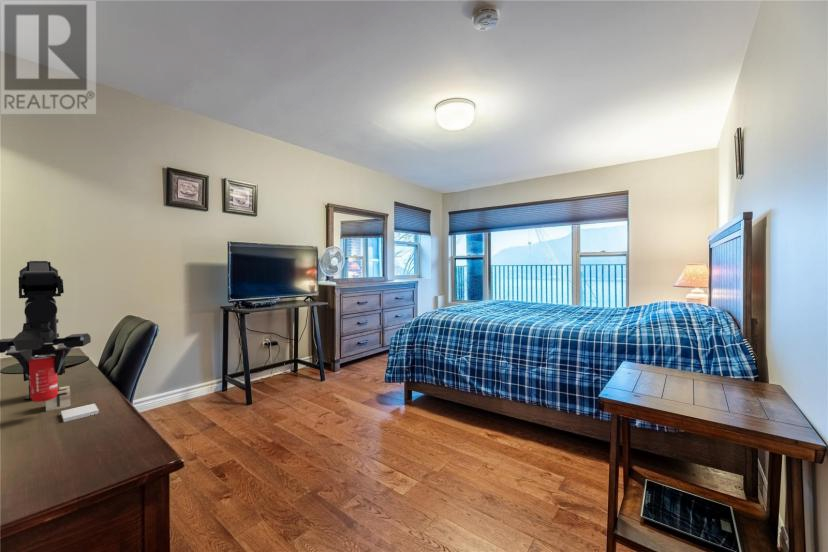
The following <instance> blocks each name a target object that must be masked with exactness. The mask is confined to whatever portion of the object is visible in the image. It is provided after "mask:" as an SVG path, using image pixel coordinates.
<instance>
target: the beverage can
mask: <svg viewBox="0 0 828 552" xmlns="http://www.w3.org/2000/svg"><path fill="white" fill-rule="evenodd" d="M55 357H56V356H55V354H44V355H38V356H33V357H31V358H30V360H29V376H30V398H31V399H30V400H31V401H32V402H33V403H42V402H46V401H48V400H52V399H54V398H56V396H57V394H58V388H59V384H58V379H57V378H58V375H57V373H55Z"/></svg>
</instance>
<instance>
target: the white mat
mask: <svg viewBox="0 0 828 552" xmlns="http://www.w3.org/2000/svg"><path fill="white" fill-rule="evenodd" d="M98 413H99V414H100V409H99V408H98V406H97V405H96V403H91V404H86V405H82V406H78V407H73V408H68V409H65V410H61V411H60V415H61V418H62V421H63V422H64V423H67V422H70V421H71V422H72V421H75V420H79V419H82V418H86V417H90V415H91V416H94V414H95V415H98Z"/></svg>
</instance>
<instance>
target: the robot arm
mask: <svg viewBox="0 0 828 552" xmlns="http://www.w3.org/2000/svg"><path fill="white" fill-rule="evenodd" d="M18 273H19V276H18V299H26V300H25V301H24V306H25V307H24V311H23V312H24V315H25V322H24V323H23V324H22V330H21V332H18V334H17V335H16V336H15V337H13V338H1V339H0V354H3V353H5V356H10V357H13V358H14V359H16V361H17V362H18V363H19V364H20V366H21V367H22V371H23V373H22V374H23V375H22V376H23V382H26V381H28V395H27V396H25V397H23V400H24V401H25V400H26V401H27V400H32V399H31V398H30V376H29V360H30V358H31V357H33V356H38V355H44V354H55V356H56V357H55V373H57V376H63V374H66V358H67V357H68V355H69V353H70V352H71V350H72V349H75V348H80V347H84V346H86V345H88V344H90V343H91V342H92V341H91V340H92V339H91V338H92V337H91V335H90V334H89V333H85V332H84V333H72V334H70V335H67V336H65V337H60V333H58V325H57V324H58V323H59V318H57V313H58V307H57V301H56V299H55V298H56V297H62V294H64V293H65V291H64V279H62V278H61V276H60V275H59V271H58V269H56V268H55V267H53V266H52V264H51V261H48V260H29V261H26V266H25V267H23V268H22V269H20V270H19V272H18ZM54 346H57V348H55V347H54ZM57 379H58V377H57Z"/></svg>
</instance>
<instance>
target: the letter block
mask: <svg viewBox="0 0 828 552" xmlns="http://www.w3.org/2000/svg"><path fill="white" fill-rule="evenodd" d="M69 406H70V407H71V388H70V385H66V386H61V387H58V394H57V396H56V398H54V399H52V400H48V401H45V412H46V411H47V412H50V411H56V410H60V408H61V409H65V408H69ZM55 409H56V410H55Z"/></svg>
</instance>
